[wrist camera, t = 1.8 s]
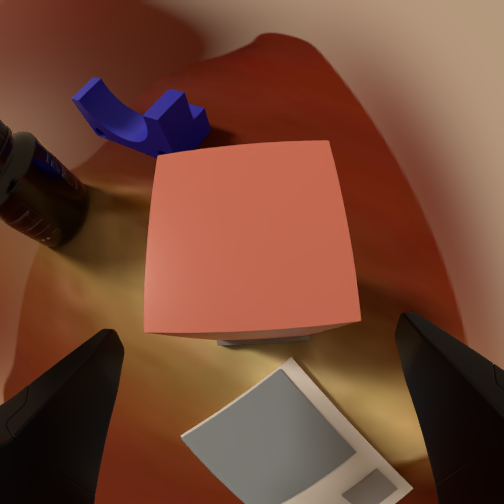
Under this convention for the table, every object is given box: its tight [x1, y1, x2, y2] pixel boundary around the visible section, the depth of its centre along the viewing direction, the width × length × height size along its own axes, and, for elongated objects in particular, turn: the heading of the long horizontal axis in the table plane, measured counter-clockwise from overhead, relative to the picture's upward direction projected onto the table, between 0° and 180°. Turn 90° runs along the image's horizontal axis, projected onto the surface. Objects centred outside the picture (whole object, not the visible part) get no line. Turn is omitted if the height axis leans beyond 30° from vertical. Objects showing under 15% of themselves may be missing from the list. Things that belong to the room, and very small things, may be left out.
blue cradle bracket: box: [72, 78, 211, 158], centre depth 21 cm, size 12×4×6 cm, turn 60°
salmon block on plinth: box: [144, 141, 361, 345], centre depth 12 cm, size 6×6×12 cm
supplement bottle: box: [0, 120, 88, 247], centre depth 16 cm, size 7×7×12 cm
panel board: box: [181, 357, 413, 504], centre depth 14 cm, size 15×9×1 cm, turn 39°
